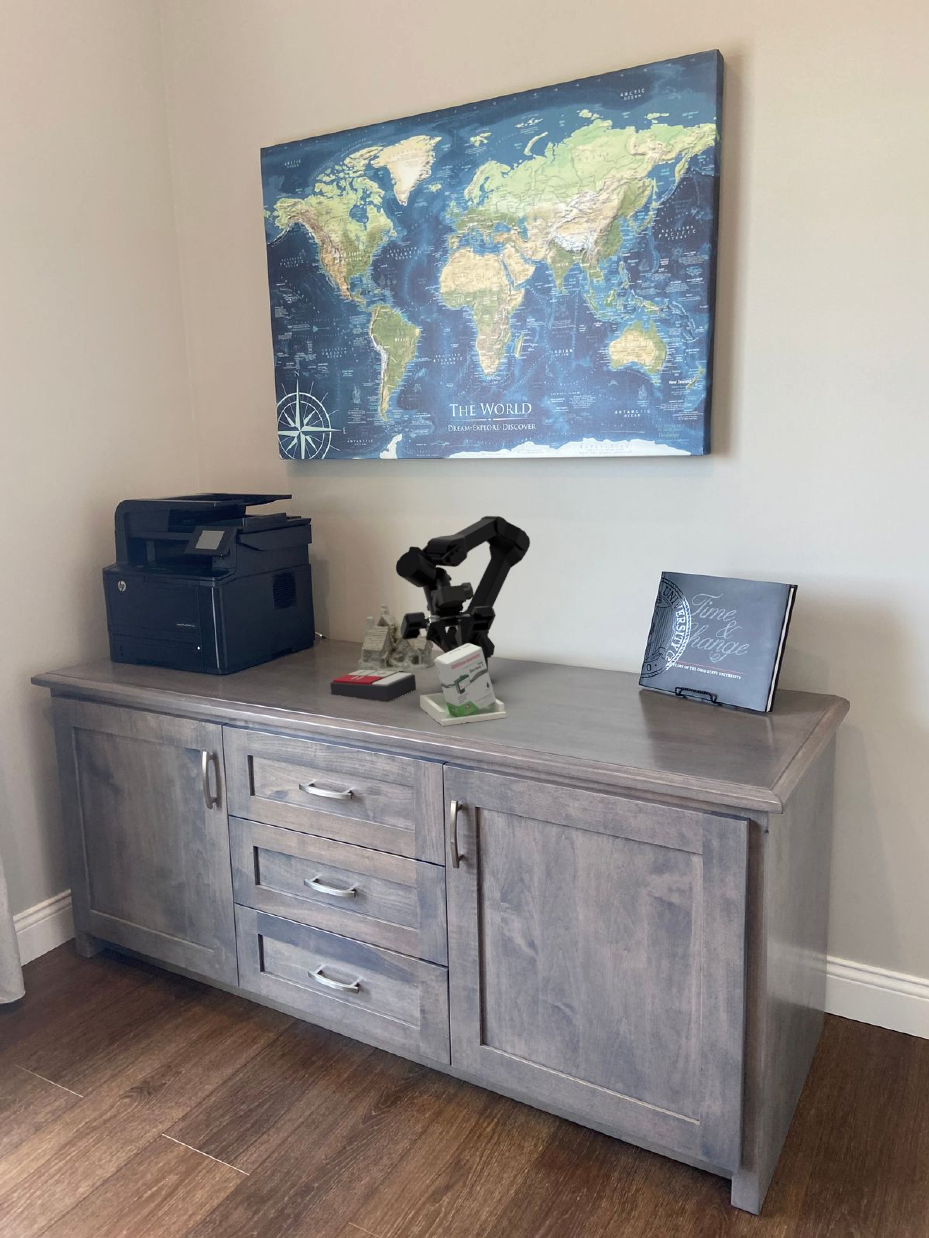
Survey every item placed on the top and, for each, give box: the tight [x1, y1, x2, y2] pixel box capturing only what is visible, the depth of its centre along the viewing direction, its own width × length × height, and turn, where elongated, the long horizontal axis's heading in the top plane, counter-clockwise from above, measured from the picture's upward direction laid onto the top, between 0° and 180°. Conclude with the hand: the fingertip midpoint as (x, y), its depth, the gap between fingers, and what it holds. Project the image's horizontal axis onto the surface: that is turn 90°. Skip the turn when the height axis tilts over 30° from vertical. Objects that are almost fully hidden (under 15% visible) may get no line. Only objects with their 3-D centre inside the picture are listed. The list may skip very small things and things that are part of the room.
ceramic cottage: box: [356, 603, 434, 673], centre depth 222 cm, size 16×16×15 cm
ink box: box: [433, 643, 497, 717], centre depth 180 cm, size 9×5×12 cm, turn 122°
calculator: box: [329, 670, 417, 703], centre depth 201 cm, size 11×4×15 cm
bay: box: [419, 692, 507, 727], centre depth 184 cm, size 13×14×2 cm
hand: (458, 657), depth 183 cm, fingers open, 2 cm apart
